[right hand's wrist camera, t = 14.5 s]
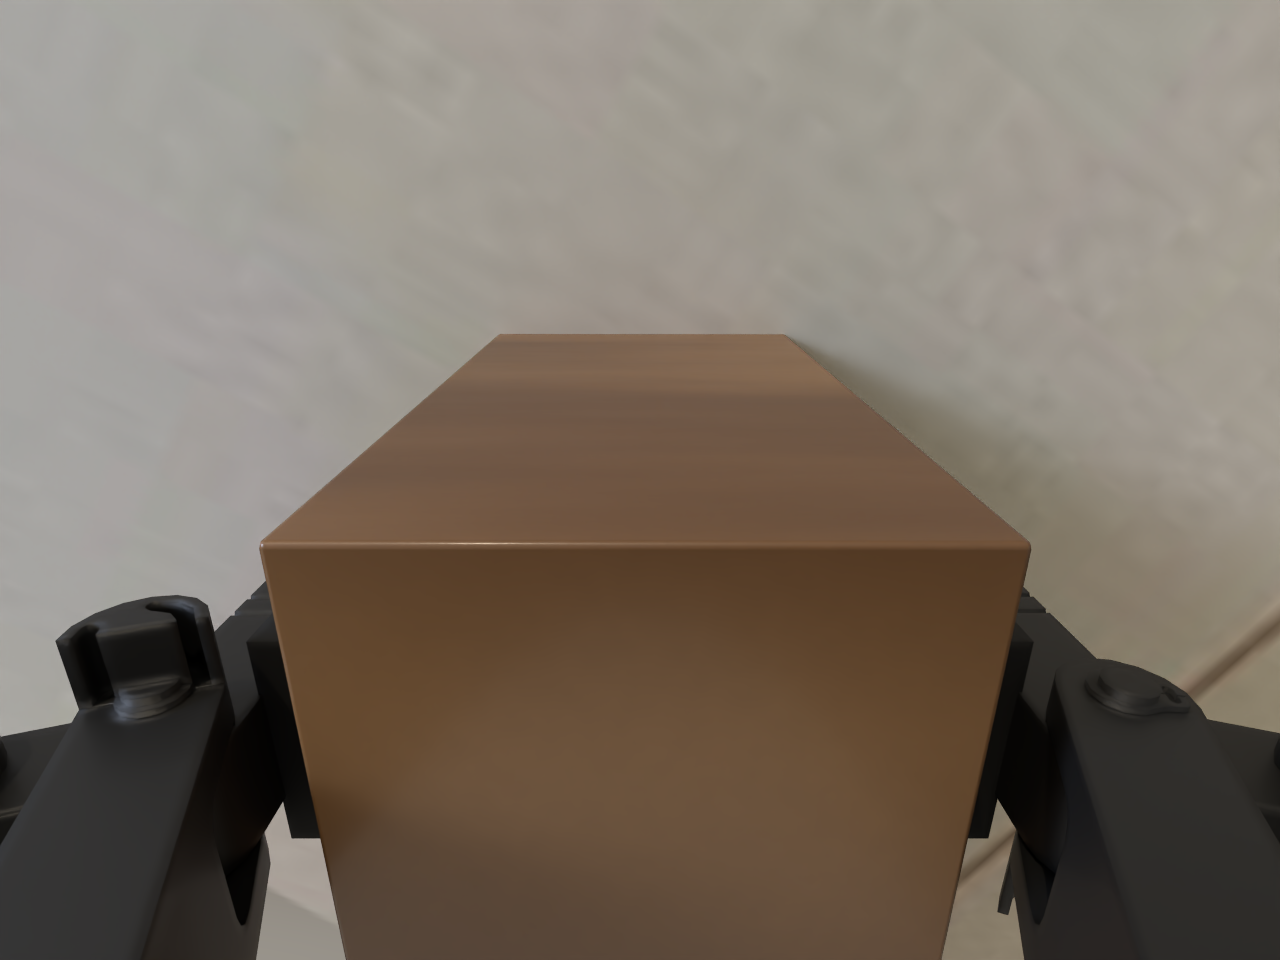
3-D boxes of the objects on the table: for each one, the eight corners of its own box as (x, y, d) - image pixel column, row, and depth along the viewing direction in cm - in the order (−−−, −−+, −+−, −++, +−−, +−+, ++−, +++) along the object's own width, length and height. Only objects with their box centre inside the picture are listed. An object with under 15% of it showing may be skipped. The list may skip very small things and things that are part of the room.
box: (498, 333, 15) (253, 542, 5) (785, 333, 15) (1035, 543, 5) (547, 1049, 23) (485, 1623, 13) (733, 1049, 23) (796, 1624, 13)
